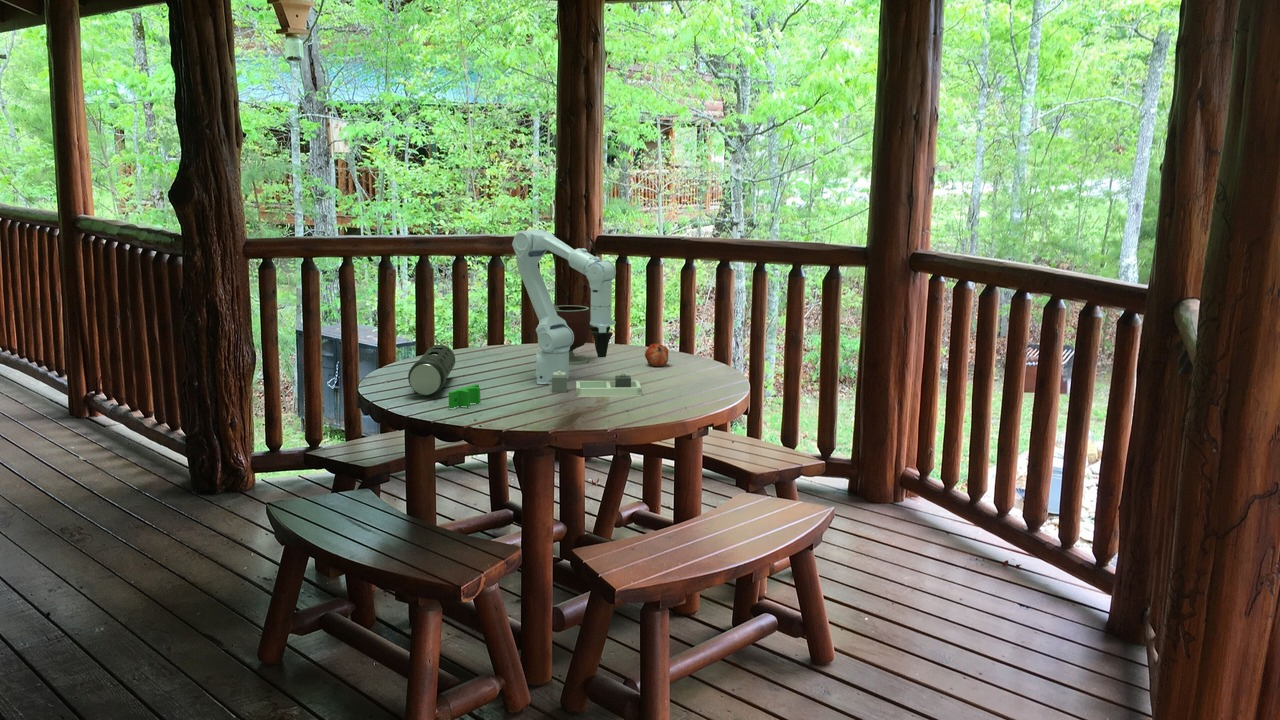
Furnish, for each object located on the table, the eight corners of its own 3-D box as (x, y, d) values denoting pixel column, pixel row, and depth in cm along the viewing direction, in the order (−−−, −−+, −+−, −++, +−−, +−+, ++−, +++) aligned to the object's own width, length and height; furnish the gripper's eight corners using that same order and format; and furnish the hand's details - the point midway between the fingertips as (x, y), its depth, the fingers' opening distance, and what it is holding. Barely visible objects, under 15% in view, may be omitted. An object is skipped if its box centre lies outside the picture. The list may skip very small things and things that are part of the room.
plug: (616, 393, 259) (616, 375, 258) (615, 390, 263) (615, 372, 262) (631, 393, 259) (631, 375, 258) (630, 389, 263) (630, 372, 262)
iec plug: (552, 396, 260) (551, 372, 258) (552, 393, 264) (551, 369, 262) (567, 396, 260) (566, 372, 259) (567, 393, 264) (566, 369, 263)
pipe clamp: (460, 411, 244) (460, 393, 243) (448, 410, 245) (448, 392, 245) (487, 402, 254) (487, 385, 253) (475, 400, 255) (475, 383, 254)
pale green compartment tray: (576, 401, 255) (576, 389, 254) (576, 391, 265) (576, 380, 265) (641, 400, 256) (641, 388, 255) (638, 391, 267) (638, 379, 266)
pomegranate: (642, 371, 305) (645, 357, 296) (644, 351, 309) (647, 336, 300) (665, 374, 306) (669, 359, 297) (667, 353, 309) (671, 338, 300)
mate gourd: (578, 355, 319) (577, 295, 315) (598, 362, 307) (598, 300, 303) (535, 360, 311) (534, 298, 307) (554, 367, 299) (553, 303, 295)
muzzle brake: (457, 378, 283) (455, 343, 281) (444, 400, 255) (442, 361, 253) (423, 378, 282) (422, 343, 280) (407, 400, 255) (405, 362, 253)
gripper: (617, 309, 259) (617, 359, 261) (613, 302, 273) (613, 349, 275) (591, 309, 258) (591, 359, 261) (588, 302, 272) (588, 349, 275)
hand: (600, 354), depth 268 cm, fingers open, 7 cm apart
